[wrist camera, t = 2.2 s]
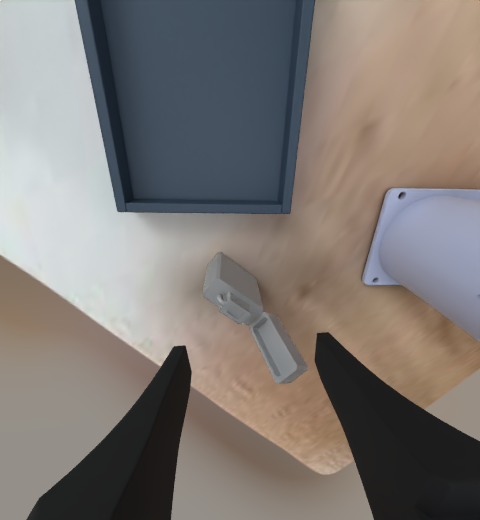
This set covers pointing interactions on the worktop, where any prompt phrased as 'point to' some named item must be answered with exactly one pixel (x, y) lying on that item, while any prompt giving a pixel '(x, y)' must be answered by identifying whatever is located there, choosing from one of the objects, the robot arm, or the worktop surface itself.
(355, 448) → the robot arm
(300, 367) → the lighter
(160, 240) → the worktop surface
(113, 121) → the tray
